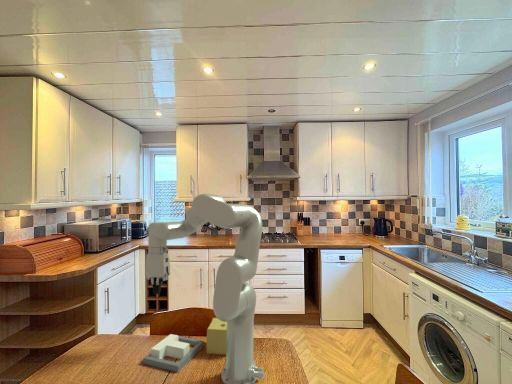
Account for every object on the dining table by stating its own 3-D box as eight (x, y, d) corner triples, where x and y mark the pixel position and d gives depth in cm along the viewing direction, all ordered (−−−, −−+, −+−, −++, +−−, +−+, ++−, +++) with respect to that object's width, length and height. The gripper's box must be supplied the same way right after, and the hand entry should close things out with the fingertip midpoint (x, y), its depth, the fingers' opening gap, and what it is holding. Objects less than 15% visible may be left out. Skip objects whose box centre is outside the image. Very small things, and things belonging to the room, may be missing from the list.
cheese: (235, 342, 109) (235, 318, 110) (230, 356, 98) (231, 330, 99) (212, 340, 110) (212, 317, 111) (205, 354, 99) (205, 328, 100)
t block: (194, 348, 103) (194, 338, 104) (177, 365, 92) (177, 354, 92) (170, 343, 107) (170, 333, 107) (150, 359, 96) (151, 348, 96)
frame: (203, 345, 105) (204, 341, 106) (178, 372, 88) (178, 366, 88) (173, 339, 110) (173, 335, 110) (143, 363, 93) (143, 357, 93)
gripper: (177, 249, 110) (176, 292, 109) (149, 248, 115) (148, 289, 113) (166, 252, 103) (165, 297, 102) (137, 251, 107) (136, 294, 106)
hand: (156, 293), depth 107 cm, fingers closed
